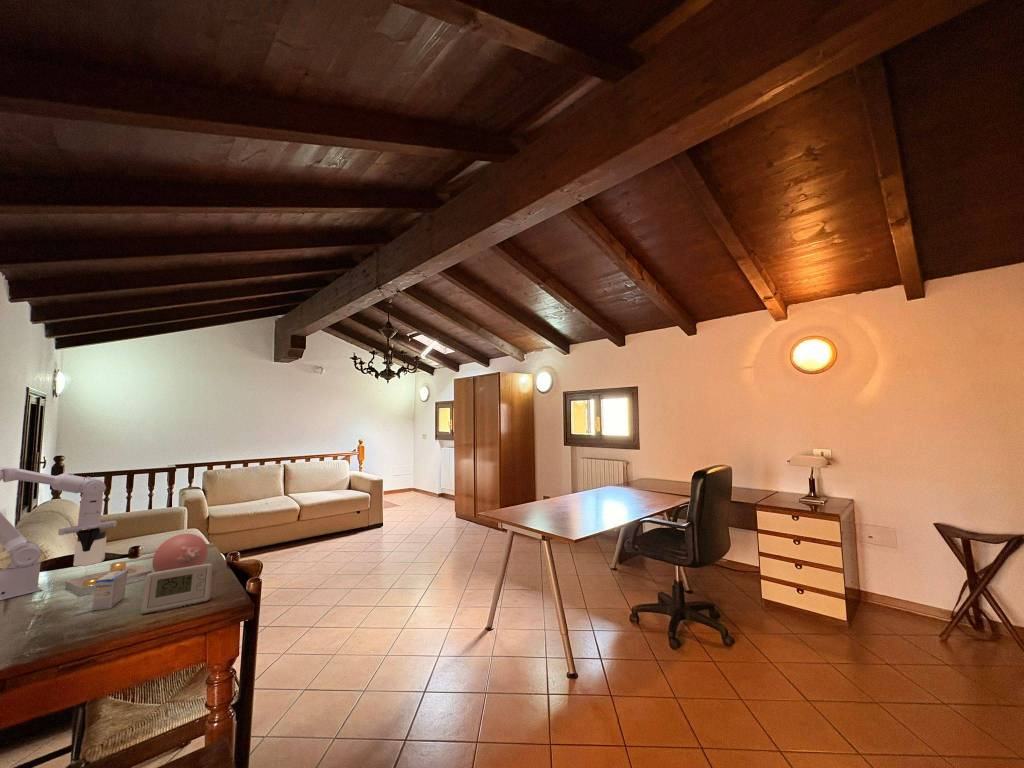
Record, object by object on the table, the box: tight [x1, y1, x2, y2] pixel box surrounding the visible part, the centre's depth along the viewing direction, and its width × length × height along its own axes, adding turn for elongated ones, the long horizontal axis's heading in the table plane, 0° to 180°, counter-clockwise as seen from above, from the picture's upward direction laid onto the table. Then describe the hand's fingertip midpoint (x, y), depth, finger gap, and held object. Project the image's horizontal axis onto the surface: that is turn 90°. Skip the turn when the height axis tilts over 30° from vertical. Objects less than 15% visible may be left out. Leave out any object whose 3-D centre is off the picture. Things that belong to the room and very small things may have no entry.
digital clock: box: [140, 563, 213, 614], centre depth 120 cm, size 16×9×11 cm, turn 112°
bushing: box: [109, 561, 127, 572], centre depth 140 cm, size 4×4×6 cm
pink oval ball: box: [151, 533, 209, 572], centre depth 141 cm, size 15×20×15 cm
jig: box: [64, 564, 153, 597], centre depth 138 cm, size 18×14×4 cm
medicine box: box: [91, 571, 127, 611], centre depth 121 cm, size 8×4×9 cm, turn 23°
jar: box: [72, 529, 108, 567], centre depth 160 cm, size 9×8×12 cm
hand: (86, 550), depth 142 cm, fingers closed
